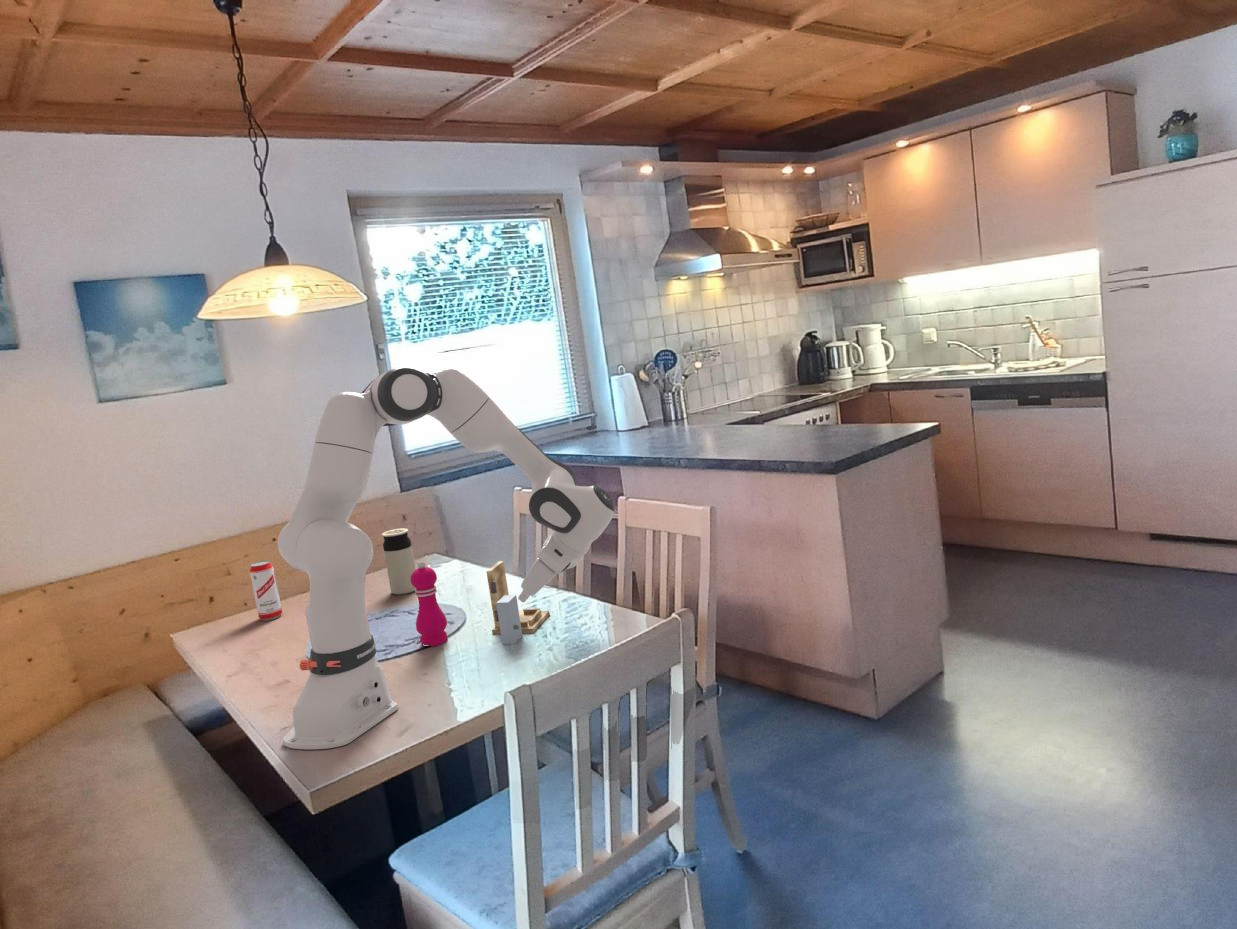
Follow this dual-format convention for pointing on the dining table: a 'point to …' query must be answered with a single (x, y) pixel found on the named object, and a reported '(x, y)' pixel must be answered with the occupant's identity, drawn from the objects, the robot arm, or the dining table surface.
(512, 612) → the grey rectangular block
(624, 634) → the dining table surface
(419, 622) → the pepper mill
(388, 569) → the travel mug
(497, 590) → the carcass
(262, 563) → the beer can
